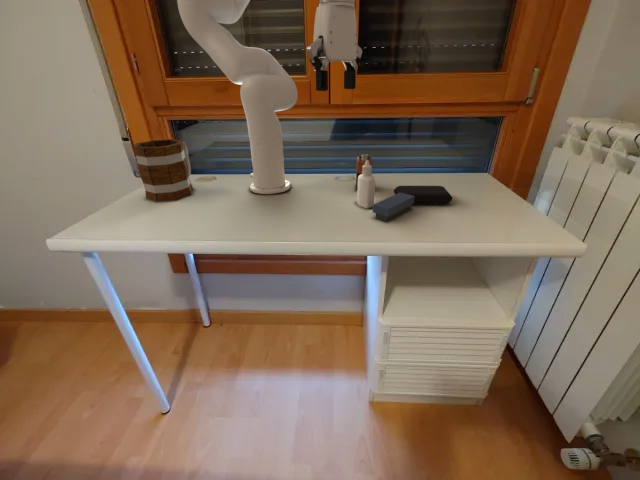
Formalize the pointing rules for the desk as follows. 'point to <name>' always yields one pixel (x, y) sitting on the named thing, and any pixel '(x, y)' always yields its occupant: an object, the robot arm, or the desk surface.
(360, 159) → the battery
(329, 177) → the desk surface
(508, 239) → the desk surface
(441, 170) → the desk surface
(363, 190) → the eye dropper bottle
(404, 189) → the carrying case
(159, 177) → the mug
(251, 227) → the desk surface
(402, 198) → the navy rectangular block
